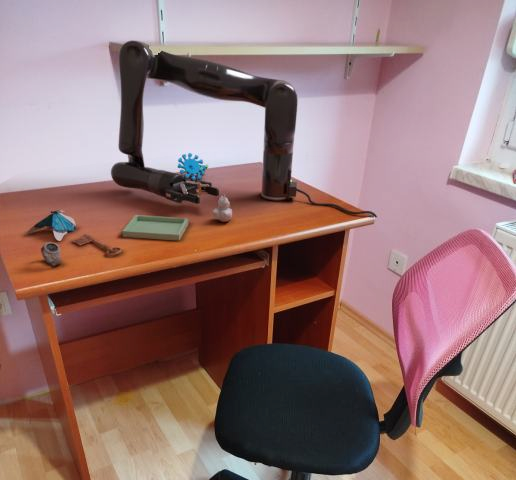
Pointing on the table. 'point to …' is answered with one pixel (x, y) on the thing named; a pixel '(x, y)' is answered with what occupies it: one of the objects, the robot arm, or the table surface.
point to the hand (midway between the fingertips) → (208, 196)
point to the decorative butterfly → (56, 224)
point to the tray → (156, 227)
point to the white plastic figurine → (222, 210)
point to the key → (83, 239)
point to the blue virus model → (192, 166)
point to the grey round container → (51, 253)
